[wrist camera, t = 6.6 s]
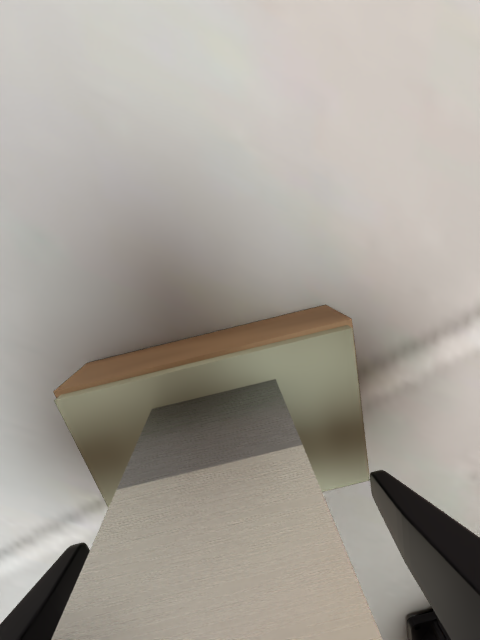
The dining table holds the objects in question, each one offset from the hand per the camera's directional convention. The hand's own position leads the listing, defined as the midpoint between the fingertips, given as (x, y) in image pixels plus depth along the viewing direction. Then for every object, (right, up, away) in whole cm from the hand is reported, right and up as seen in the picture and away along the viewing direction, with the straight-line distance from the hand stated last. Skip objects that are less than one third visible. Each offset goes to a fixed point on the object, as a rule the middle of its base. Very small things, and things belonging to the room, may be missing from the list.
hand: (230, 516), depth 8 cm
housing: (0, +1, +3) cm, 3 cm away
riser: (0, +2, +6) cm, 6 cm away
